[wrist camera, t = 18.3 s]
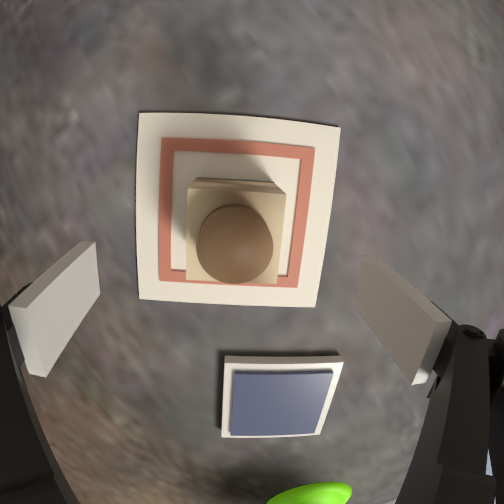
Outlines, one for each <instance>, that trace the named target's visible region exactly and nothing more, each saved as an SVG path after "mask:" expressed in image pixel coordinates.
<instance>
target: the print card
mask: <svg viewBox="0 0 504 504" xmlns="http://www.w3.org/2000/svg"><path fill="white" fill-rule="evenodd" d="M339 138H340V128H338V127H332V126H326V125H319V124H312V123H305V122H297V121H289V120H281V119H271V118H261V117H250V116H237V115H221V114H199V113H139V127H138V144H137V170H136V241H137V267H138V285H139V299H149V300H162V301H177V302H192V303H210V304H230V305H253V306H285V307H315V304H316V298H317V293H318V288H319V282H320V276H321V270H322V264H323V258H324V252H325V246H326V240H327V233H328V226H329V220H330V213H331V205H332V198H333V190H334V182H335V174H336V166H337V157H338V148H339ZM197 177H204V178H224V179H241V180H256V181H270V182H274V183H275V184H276V185H277V186H278V187H279V188H280V189H282V190H283V191H284V192H285V193H286V204H285V214H284V223H283V233H282V242H281V251H280V260H279V268H278V277H277V284H265V283H241V284H228V283H223V282H218V281H198V280H186V228H187V194H188V187H189V186H190V185H191V184H192V183H193V181H194V180H195V179H196V178H197Z"/></svg>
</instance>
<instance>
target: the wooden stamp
mask: <svg viewBox="0 0 504 504" xmlns="http://www.w3.org/2000/svg"><path fill="white" fill-rule="evenodd" d="M285 204H286V193H285V192H284V191H283V190H282V189H280V188H279V187H278V186H277V185H276V184H275V183H274V182H270V181H256V180H241V179H224V178H204V177H197V178H196V179H195V180H194V181H193V183H192V184H191V185H190V186H189V187H188V194H187V228H186V280H198V281H218V282H223V283H228V284H241V283H265V284H277V277H278V268H279V260H280V251H281V242H282V233H283V223H284V214H285Z"/></svg>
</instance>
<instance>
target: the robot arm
mask: <svg viewBox="0 0 504 504" xmlns="http://www.w3.org/2000/svg"><path fill="white" fill-rule="evenodd" d="M99 295H100V288H99V279H98V269H97V258H96V245H95V242H86V241H81V242H80V243H79V244H78V245H76V246H75V247H74V248H73V249H71V250H70V251H69V252H68V253H67V254H65V255H64V256H63V257H62V258H61V259H59V260H58V261H57V262H56V263H55V264H54V265H52V266H51V267H50V268H49V269H48V270H47V271H45V272H44V273H43V274H42V275H41V276H40V277H39V278H38V279H36V280H35V281H34V282H32V283H30V284H28V285H26V286H24V287H23V288H22V289H21V290H19V291H18V292H17V294H15V295H14V296H13V297H12V298H11V299H10V300H9V301H8V302H6V303H5V304H4V305H3V306H2V307H1V305H0V504H80V503H79V502H78V500H77V498H76V496H75V495H74V493H73V491H72V489H71V488H70V486H69V484H68V482H67V480H66V478H65V477H64V475H63V473H62V471H61V469H60V467H59V465H58V463H57V461H56V459H55V457H54V455H53V452H52V450H51V448H50V446H49V444H48V441H47V439H46V437H45V435H44V432H43V430H42V427H41V425H40V423H39V420H38V417H37V415H36V412H35V410H34V407H33V404H32V402H31V399H30V396H29V393H28V390H27V387H26V384H25V381H24V378H23V375H22V372H21V369H20V366H21V365H22V363H23V362H24V361H25V363H26V366H27V369H28V372H29V374H33V375H38V376H42V377H47V375H48V373H49V372H50V370H51V368H52V367H53V365H54V363H55V362H56V360H57V359H58V357H59V355H60V354H61V352H62V351H63V349H64V347H65V346H66V344H67V343H68V341H69V340H70V338H71V336H72V335H73V333H74V332H75V330H76V329H77V327H78V326H79V324H80V323H81V321H82V320H83V318H84V317H85V315H86V314H87V312H88V311H89V309H90V308H91V306H92V305H93V304H94V302H95V301H96V299H97V298H98V296H99ZM353 305H354V306H355V307H356V309H357V310H358V311H359V313H360V314H361V315H362V317H363V318H364V319H365V321H366V322H367V323H368V325H369V326H370V327H371V329H372V330H373V331H374V333H375V334H376V336H377V337H378V338H379V340H380V341H381V342H382V344H383V345H384V347H385V348H386V349H387V351H388V352H389V354H390V355H391V356H392V358H393V359H394V361H395V362H396V363H397V365H398V366H399V368H400V369H401V370H402V372H403V373H404V375H405V376H406V378H407V379H408V380H409V382H410V383H411V385H413V384H419V383H425V382H427V381H428V379H429V376H430V374H431V372H432V370H434V371H435V372H436V374H437V377H436V380H435V382H434V384H433V386H432V388H431V390H430V392H429V394H428V396H427V398H430V401H429V405H428V409H427V413H426V416H425V420H424V424H423V427H422V430H421V434H420V437H419V440H418V443H417V447H416V450H415V453H414V456H413V459H412V461H411V464H410V467H409V470H408V473H407V475H406V478H405V481H404V483H403V486H402V488H401V491H400V493H399V496H398V498H397V500H396V503H395V504H494V500H495V499H496V504H504V329H501V330H500V331H499V333H498V335H497V337H496V340H493V339H487V337H486V335H485V334H484V332H483V331H481V330H480V329H478V328H476V327H474V326H471V325H460V326H459V325H458V324H457V323H456V322H454V321H453V320H452V319H451V318H450V317H449V316H448V315H447V314H445V312H443V311H442V310H441V309H439V307H438V306H437V305H436V304H434V303H433V302H432V301H430V300H428V299H427V298H426V297H425V296H424V295H423V294H421V293H420V292H419V291H418V290H417V289H416V288H415V287H413V286H412V285H411V284H410V283H409V282H408V281H406V280H405V279H404V278H403V277H402V276H400V275H399V274H398V273H397V272H396V271H395V270H393V269H392V268H391V267H390V266H388V265H387V264H386V263H385V262H384V261H382V260H381V259H380V258H379V257H378V256H368V255H364V257H363V262H362V267H361V272H360V276H359V281H358V286H357V290H356V295H355V299H354V303H353ZM430 396H431V397H430ZM488 449H489V455H490V461H491V467H492V474H493V476H490V475H486V464H487V454H488ZM495 497H496V498H495Z"/></svg>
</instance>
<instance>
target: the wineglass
mask: <svg viewBox="0 0 504 504" xmlns="http://www.w3.org/2000/svg"><path fill="white" fill-rule="evenodd" d="M351 493H352V492H351V487H350V486H349V485H347V484H344V483H340V482H321V483H314V484H308V485H304V486H300V487H296V488H293V489H290V490H287V491H284V492H282V493H280V494H278V495H276V496H274V497H273V498H271V499H270V500H269V501H268V502H267V503H266V504H345V503H346V502H347V501H348V499H349V498H350V496H351Z"/></svg>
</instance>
